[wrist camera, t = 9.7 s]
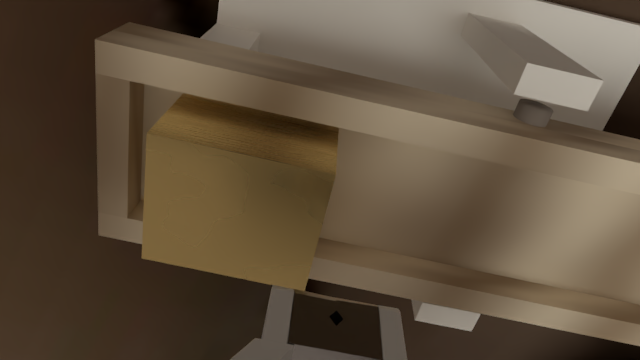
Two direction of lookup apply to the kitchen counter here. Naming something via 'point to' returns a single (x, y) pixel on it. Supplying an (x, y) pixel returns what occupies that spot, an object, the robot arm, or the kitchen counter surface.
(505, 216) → the beam
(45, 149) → the kitchen counter surface
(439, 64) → the pivot stand
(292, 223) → the tan rectangular block
